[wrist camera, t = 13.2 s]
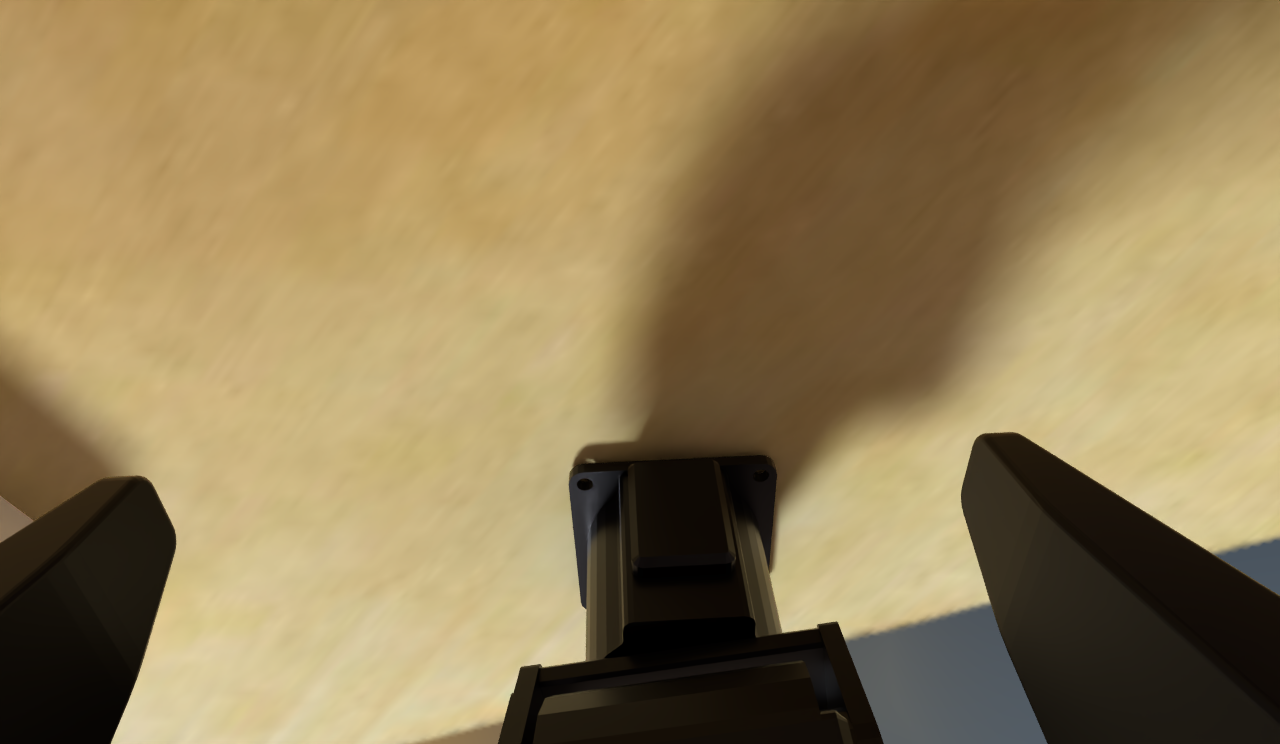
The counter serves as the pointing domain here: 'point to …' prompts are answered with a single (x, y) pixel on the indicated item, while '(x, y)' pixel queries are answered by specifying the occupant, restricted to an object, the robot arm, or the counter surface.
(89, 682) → the robot arm
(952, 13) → the counter surface
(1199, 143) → the counter surface
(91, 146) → the counter surface
